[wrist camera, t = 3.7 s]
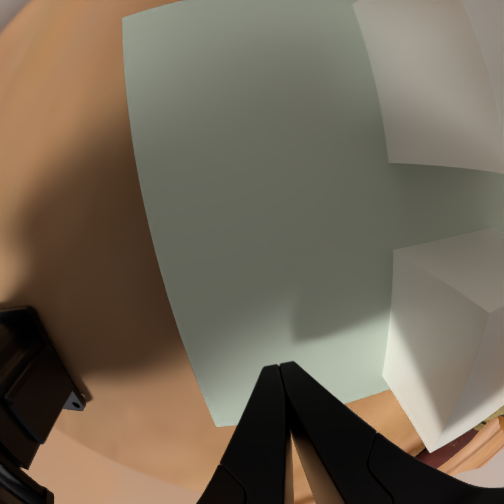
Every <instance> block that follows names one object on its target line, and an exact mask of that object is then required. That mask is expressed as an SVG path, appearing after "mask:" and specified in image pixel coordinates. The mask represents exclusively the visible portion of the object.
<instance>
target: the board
mask: <svg viewBox="0 0 504 504" xmlns="http://www.w3.org/2000/svg"><path fill="white" fill-rule="evenodd" d="M356 1H357V0H183V1H178V2H174V3H170V4H166V5H162V6H158V7H155V8H151V9H148V10H145V11H142V12H138V13H135V14H132V15H129V16H127V17H124V18H122V35H123V58H124V73H125V85H126V95H127V104H128V113H129V121H130V128H131V135H132V142H133V148H134V154H135V160H136V166H137V172H138V177H139V182H140V188H141V193H142V197H143V202H144V207H145V211H146V216H147V220H148V225H149V229H150V233H151V237H152V241H153V245H154V249H155V253H156V257H157V261H158V264H159V268H160V272H161V275H162V279H163V282H164V286H165V289H166V292H167V296H168V299H169V302H170V305H171V309H172V312H173V315H174V318H175V321H176V324H177V327H178V330H179V333H180V336H181V339H182V342H183V345H184V347H185V350H186V353H187V356H188V359H189V361H190V364H191V367H192V369H193V372H194V375H195V377H196V380H197V382H198V385H199V387H200V390H201V392H202V395H203V397H204V400H205V402H206V404H207V407H208V409H209V411H210V414H211V416H212V418H213V421H214V423H215V425H216V427H223V426H233V425H238V422H239V420H240V418H241V416H242V414H243V411H244V409H245V407H246V405H247V402H248V400H249V398H250V395H251V393H252V391H253V388H254V386H255V384H256V381H257V379H258V377H259V374H260V372H261V370H262V368H263V367H264V366H267V365H273V364H278V365H279V364H280V363H283V362H289V361H295V362H296V363H297V364H298V365H299V366H301V367H302V368H303V369H304V370H305V371H306V372H307V373H308V374H310V375H311V376H312V377H313V378H314V379H315V380H316V381H318V382H319V383H320V384H321V385H322V386H323V387H325V388H326V389H327V390H328V391H329V392H330V393H332V394H333V395H334V396H335V397H336V398H337V399H339V400H340V401H341V402H342V403H343V404H345V403H349V402H352V401H355V400H359V399H362V398H365V397H368V396H371V395H374V394H377V393H380V392H383V391H386V390H388V389H390V387H389V386H388V384H387V382H386V381H385V379H384V378H383V376H382V374H383V368H384V362H385V355H386V348H387V340H388V331H389V321H390V310H391V297H392V277H393V250H395V249H400V248H405V247H409V246H414V245H419V244H423V243H428V242H432V241H437V240H441V239H446V238H450V237H454V236H459V235H463V234H467V233H472V232H476V231H480V230H484V229H488V228H494V229H497V230H499V231H502V232H504V174H503V173H497V172H490V171H483V170H475V169H466V168H457V167H447V166H435V165H422V164H404V163H389V162H388V153H387V146H386V138H385V132H384V125H383V119H382V113H381V108H380V103H379V98H378V93H377V88H376V84H375V79H374V75H373V71H372V67H371V63H370V59H369V56H368V52H367V49H366V45H365V42H364V38H363V35H362V32H361V29H360V26H359V23H358V20H357V17H356V14H355V11H354V9H353V6H352V5H353V4H354V3H355V2H356Z"/></svg>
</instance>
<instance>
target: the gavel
mask: <svg viewBox="0 0 504 504" xmlns="http://www.w3.org/2000/svg"><path fill="white" fill-rule="evenodd" d="M498 416H501V417H504V405H503V406H502V407H501V408H499V409H498V410H497V411H495V412H494V413H493V414H492V415H490V416H489V417H487V418H486V419H485V420H483V421H482V422H480V423H479V424H478V425H476V426H475V427H473V428H472V429H470V430H469V431H467V432H465V433H464V434H462V435H461V436H459V437H457V438H456V439H454V440H453V441H451V442H449V443H447V444H446V445H444V446H442V447H440V448H438V449H437V450H435V451H433V452H431V453H429V451H428V449H426V450H425V451H424V452H423V453H421V454H420V455H419V456H417V457H416V458H417V459H418V460H420V461H422V462H424V463H426V464H428V465H430V466H431V467H433V468H435V469H437V468H438V467H440V466H441V465H442V464H444V463H445V462H446V461H448V460H449V459H450V458H451V457H453V456H454V455H455V454H456V453H457V452H459V451H460V450H461V449H462V448H463V447H465V446H466V445H467V444H468V443H469V442H470V441H471V440H472V439H473V438H474V436H475V435H476V434H477V433H478V432H479V430H480V429H481V428H482V427H483V426H484V425H485V424H486V422H489V421H490V420H491V419H494V418H496V417H498Z"/></svg>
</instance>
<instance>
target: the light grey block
mask: <svg viewBox="0 0 504 504" xmlns="http://www.w3.org/2000/svg"><path fill="white" fill-rule="evenodd" d="M352 6H353V9H354V11H355V14H356V17H357V20H358V23H359V26H360V29H361V32H362V35H363V38H364V42H365V45H366V49H367V52H368V56H369V59H370V63H371V67H372V71H373V75H374V79H375V84H376V88H377V93H378V98H379V103H380V108H381V113H382V119H383V125H384V132H385V138H386V146H387V153H388V162H389V163H404V164H422V165H435V166H447V167H457V168H466V169H475V170H483V171H490V172H497V173H503V174H504V0H357V1H356V2H355V3H354V4H353V5H352Z"/></svg>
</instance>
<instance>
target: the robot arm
mask: <svg viewBox="0 0 504 504" xmlns="http://www.w3.org/2000/svg"><path fill="white" fill-rule="evenodd" d="M85 406H86V402H85V400H84V399H83V397H82V396H81V394H80V392H79V391H78V389H77V388H76V386H75V385H74V383H73V381H72V380H71V378H70V376H69V375H68V373H67V371H66V370H65V368H64V366H63V364H62V363H61V361H60V359H59V357H58V355H57V354H56V352H55V350H54V348H53V346H52V344H51V342H50V340H49V338H48V336H47V334H46V332H45V330H44V328H43V325H42V323H41V321H40V319H39V317H38V314H37V313H36V311H35V310H34V309H33V308H32V307H31V306H20V307H11V308H3V309H0V504H54V494H53V493H52V492H51V491H49V490H48V489H47V488H45V487H43V486H41V485H39V484H38V483H37V482H36V481H34V480H33V479H32V478H31V477H29V476H28V475H27V474H26V473H25V472H24V471H22V470H21V468H24V469H27V470H29V467H30V465H31V463H32V461H33V459H34V457H35V455H36V452H37V450H38V448H39V446H40V444H44V443H45V442H46V440H47V438H48V436H49V434H50V432H51V430H52V428H53V426H54V424H55V422H56V420H57V418H58V417H59V415H60V413H61V411H62V409H68V410H76V411H83V410H84V408H85ZM290 430H291V431H290ZM376 432H377V431H376V430H375V429H374V428H373V427H371V426H370V425H369V424H368V423H366V422H365V421H364V420H363V419H361V418H360V417H359V416H358V415H357V414H355V413H354V412H353V411H352V410H351V409H349V408H348V407H347V406H346V405H345V404H343V403H342V402H341V401H340V400H339V399H337V398H336V397H335V396H334V395H333V394H332V393H330V392H329V391H328V390H327V389H326V388H325V387H323V386H322V385H321V384H320V383H319V382H318V381H316V380H315V379H314V378H313V377H312V376H311V375H310V374H308V373H307V372H306V371H305V370H304V369H303V368H302V367H301V366H299V365H298V364H297V363H296V362H295V361H289V362H283V363H280V364H279V365H278V364H273V365H267V366H264V367H263V368H262V370H261V372H260V374H259V377H258V379H257V381H256V384H255V386H254V388H253V391H252V393H251V395H250V398H249V400H248V402H247V405H246V407H245V409H244V411H243V414H242V416H241V418H240V420H239V422H238V425H237V427H236V429H235V431H234V433H233V435H232V438H231V440H230V442H229V444H228V446H227V448H226V450H225V452H224V454H223V456H222V459H221V461H220V465H218V466H217V468H216V470H215V472H214V474H213V476H212V478H211V480H210V482H209V484H208V485H207V487H206V489H205V491H204V492H203V494H202V496H201V497H200V499H199V500H198V502H197V503H196V504H294V491H293V460H292V440H291V435H292V438H293V441H294V444H295V447H296V450H297V453H298V456H299V458H300V461H301V464H302V467H303V469H304V472H305V475H306V477H307V480H308V483H309V485H310V488H311V491H312V493H313V496H314V499H315V501H316V504H504V488H484V487H478V486H474V485H471V484H468V483H465V482H463V481H460V480H458V479H456V478H454V477H452V476H450V475H448V474H446V473H443V472H441V471H439V470H437V469H435V468H433V467H431V466H430V465H428V464H426V463H424V462H422V461H420V460H418V459H417V458H415V457H413V456H411V455H410V454H408V453H406V452H405V451H403V450H402V449H401V448H399V447H398V446H396V445H395V444H393V443H392V442H391V441H389V440H388V439H387V438H385V437H384V436H383V435H382V434H380V433H379V432H378V433H376Z"/></svg>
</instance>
